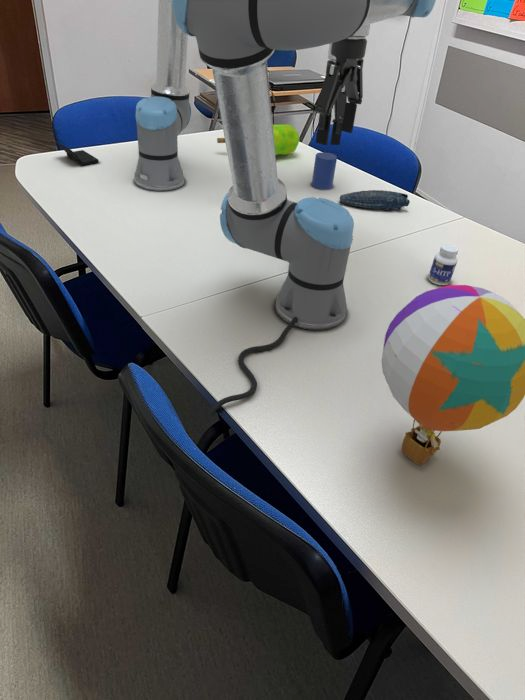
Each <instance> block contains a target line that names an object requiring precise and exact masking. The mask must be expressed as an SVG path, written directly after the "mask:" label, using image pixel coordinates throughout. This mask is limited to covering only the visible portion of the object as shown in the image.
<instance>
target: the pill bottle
mask: <svg viewBox="0 0 525 700" xmlns="http://www.w3.org/2000/svg"><path fill="white" fill-rule="evenodd" d="M458 252H459V248H458V247H457V245H454V244H451V243H443V244H442V245H440V248H439V251H438V252H437V253H436V254H435V255H434V258H433V261H432V264H431V266H430V270H429V273H428V276H427V278H428V280H429V282H431V283H433V284H435V285H438V286H448V285H450V283H451V280H452V278H453V275H454V272H455V269H456V266H457V264H458V258H457V257H458V256H457V255H458Z"/></svg>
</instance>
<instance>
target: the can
mask: <svg viewBox="0 0 525 700" xmlns="http://www.w3.org/2000/svg"><path fill="white" fill-rule="evenodd" d="M337 159H338V156H337V155H336V154H334V153H331V152H326V151H325V152H324V151H323V152H321V151H320V152H317V153H315V157H314V165H313V172H312V179H311V186H312V187H313V188H314V189H318V190H330V189H332V188H333V185H334V178H335V172H336V166H337V161H338V160H337Z"/></svg>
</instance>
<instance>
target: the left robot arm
mask: <svg viewBox="0 0 525 700" xmlns="http://www.w3.org/2000/svg"><path fill="white" fill-rule="evenodd" d="M157 7H158V10H157V15H158V16H157V42H156V43H157V44H156V46H157V47H156V77H155V78H156V79H155V82H154V83H152V85H150V96H148V97H144V98H142V99H139V101H137V103H136V106H135V121H136V122H135V123H136V131H137V132H136V135H137V148H138V160H137V164H136V166H135V167H136V168H135V171H134V183H135V185H136V186H137V187H139V188H142V189H145V190H149V191H155V192H165V191H173V190H177V189H179V188H181V187H183V186H184V185H185V174H184V171H183V168H182V165H181V162H180V159H179V149H178V148H179V147H178V136H179V135H180V134H181V133H182V132H183V131H184V130H185V129H186V128H187V127H188V126H189V123H190V121H191V118H192V106H191V103H190V90H189V88H188V87H187V86H186V77H187V76H186V74H187V73H186V72H187V57H188V41H189V35H188V34H186V33H184V32H183V30H181V29H180V28H179V26H178V25H177V22H176V20H175V17H174V13H173V6H172V0H158V5H157ZM331 46H332V43H330V44H328V52H327V58H328V60H327V61H326V68H325V73H326V72H327V66H328V64H334V65H335V62H336V57H335V56H333V55H332V54H331ZM346 103H348V98H347V93H346V88H345V86H344V88H342V89H341V90H340V92H339V94H338V97H337V99H336V101H335V103H334V106H333V109H332V110H331V112H330V115H332V113H333V112H334V118H333V119H332V120H331V122H332V129H331V136H330V142H329V143H330V146H340V143H341V138H342V132H343V131H341V130H342V124H343V117H344V111H345V105H346ZM333 110H334V111H333ZM332 111H333V112H332Z"/></svg>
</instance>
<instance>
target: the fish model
mask: <svg viewBox="0 0 525 700" xmlns="http://www.w3.org/2000/svg"><path fill="white" fill-rule="evenodd" d="M410 202H411V201H410V200H409V195H408V194H406V193H403V192H402V193H401V192H399V191H392V190H382V189H380V190H379V189H377V190H376V189H368V190H360V191H352V192H348V193H344V194H341V195H340V196H339V203H343V204H346V205H349V206H351V207H357V208H362V209H371V210H372V209H374V210H384V211H385V210H386V211H391V210H394V209H397V210H402V208H404V207H408V206H409V205H410Z"/></svg>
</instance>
